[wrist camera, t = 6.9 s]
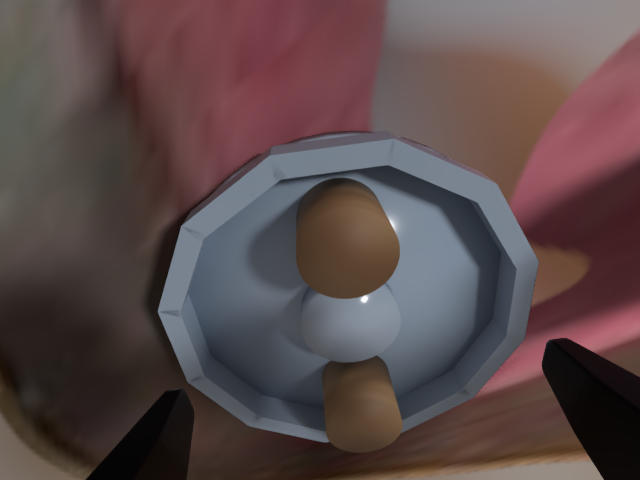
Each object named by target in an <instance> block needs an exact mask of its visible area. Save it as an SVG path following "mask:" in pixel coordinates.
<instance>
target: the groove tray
mask: <svg viewBox="0 0 640 480" xmlns="http://www.w3.org/2000/svg"><path fill="white" fill-rule="evenodd" d="M332 178H350V179H354V180H357V181H360V182H361V183H363V184H365V185H366V186H368V187H369V188H370V189H371V190H372V191H373V192H374V194H375V195H376V196H377V198H378V200H379V202H380V204H381V206H382V208H383V210H384V212H385V213H386V215H387V217H388V219H389V221H390V223H391V225H392V227H393V229H394V231H395V233H396V235H397V237H398V240H399V245H400V258H399V262H398V265H397V267H396V270H395V271H394V273H393V275H392V276H391V277H390V279H389V280H388V281H387V282H386V283H385V284H384V285H383V286H381V287H380V288H379V289H377V290H375V291H374V292H372V293H370V294H367V295H365V296H362V297H358V298H352V299H337V298H331V297H328V296H325V295H322V294H320V293H318V292H317V291H315V290H313V289H312V288H311V287H310V286H309V285H308V284H307V283H306V282H305V281H304V280H303V278H302V277H301V275H300V273H299V270H298V268H297V263H296V216H297V210H298V206H299V204H300V202H301V200H302V198H303V197H304V195H305V194H306V193H307V192H308V191H309V190H310V189H311V188H312V187H314V186H315V185H317V184H318V183H320V182H322V181H325V180H328V179H332ZM538 265H539V261H538V259H537V257H536V255H535V253H534V252H533V250H532V248H531V246H530V244H529V242H528V240H527V239H526V237H525V235H524V233H523V231H522V229H521V228H520V226H519V224H518V222H517V220H516V218H515V217H514V215H513V213H512V211H511V209H510V207H509V205H508V204H507V202H506V200H505V198H504V196H503V194H502V193H501V191H500V189H499V187H498V185H497V184H496V183H495V182H493V181H492V180H491V179H489V178H488V177H486V176H485V175H483V174H482V173H481V172H478V171H476V170H474V169H472V168H469V167H467V166H465V165H463V164H460V163H458V162H456V161H453V160H451V159H450V158H448V157H447V156H445V155H443V154H441V153H439V152H437V151H436V150H434V149H432V148H430V147H428V146H426V145H423V144H421V143H418V142H415V141H412V140H410V139H407V138H404V137H399V136H397V135H395V134H392V133H390V132H388V131H380V132H367V131H340V132H327V133H322V134H317V135H312V136H307V137H302V138H299V139H296V140H293V141H291V142H288V143H285V144H282V145H277V146H272V147H271V148H269V149H268V150H267V151H266V152H264V153H263V154H261V155H259V156H257V157H255V158H253V159H252V160H250V161H249V162H248V163H246V164H245V165H243V166H242V167H240V168H239V169H237V170H236V171H235V172H233V173H232V174H231V175H230V176H229V177H228V178H227V179H226V180H225V181H224V182H223V183H222V184H221V185H220V186H218V187H217V188H216V190H215V191H214V192H213V194H212V195H211V196H210V197H208V198H207V199H206V200H205V201H203V202H202V203H201V204H200V205H198V206H197V207H196V208H195V209H193V210H192V211H191V212H190V214H189V215H188V217H187V218H186V220H185V221H184V223H183V224H182V226H181V229H180V233H179V236H178V240H177V243H176V247H175V251H174V254H173V258H172V262H171V265H170V269H169V272H168V276H167V280H166V283H165V287H164V290H163V294H162V298H161V301H160V305H159V309H158V314H159V316H160V318H161V321H162V323H163V325H164V328H165V330H166V333H167V335H168V337H169V340H170V342H171V344H172V347H173V349H174V351H175V354H176V356H177V358H178V361H179V363H180V365H181V368H182V370H183V373H184V375H185V377H186V380H187V382H188V383H189V384H191V385H192V386H194V387H195V388H196V389H198V390H199V391H201V392H202V393H203V394H205V395H206V396H208V397H209V398H210V399H212V400H213V401H215V402H216V403H217V404H219V405H220V406H222V407H223V408H224V409H226V410H227V411H229V412H230V413H231V414H233V415H234V416H236V417H237V418H238V419H240V420H241V421H242V422H244V423H245V424H247V425H248V426H251V427H255V428H260V429H264V430H269V431H274V432H278V433H283V434H287V435H292V436H297V437H301V438H306V439H310V440H315V441H320V442H330V441H329V440H328V438H327V435H326V426H325V411H324V397H323V382H322V374H323V370H324V368H325V367H326V365H327V364H328V363H329V362H330V361H336V362H358V361H363V360H366V359H369V358H372V357H374V356H376V355H377V356H379V357H380V358H381V359H382V360H383V361H384V362H385V363H386V365H387V368H388V371H389V375H390V378H391V382H392V386H393V389H394V393H395V397H396V400H397V404H398V408H399V411H400V415H401V419H402V424H403V426H402V431H401V433H403V432H405V431H407V430H409V429H411V428H413V427H415V426H417V425H419V424H421V423H423V422H425V421H427V420H429V419H431V418H433V417H435V416H437V415H439V414H441V413H443V412H446V411H448V410H450V409H452V408H454V407H456V406H458V405H460V404H462V403H464V402H466V401H468V400H470V399H472V398H473V397H474V396H475V395H476V394H477V393H478V392H479V390H480V389H481V388H482V387H483V386H484V385H485V384H486V382H487V381H488V380H489V379H490V378H491V377H492V376H493V375H494V373H495V372H496V371H497V370H498V369H499V368H500V367H501V365H502V364H503V363H504V362H505V361H506V360H507V359H508V357H509V356H510V355H511V354H512V353H513V352H514V351H515V349H516V348H517V347H518V346H519V345H520V344H521V343H522V341H523V340H524V339H525V334H526V328H527V323H528V318H529V312H530V307H531V302H532V296H533V291H534V286H535V281H536V275H537V270H538Z"/></svg>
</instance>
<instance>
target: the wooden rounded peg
mask: <svg viewBox="0 0 640 480" xmlns="http://www.w3.org/2000/svg"><path fill="white" fill-rule="evenodd" d="M322 382H323V397H324V411H325V426H326V435H327V438H328V440H329V441H330V443H331V444H333V445H334V446H335V447H337V448H339V449H341V450H344V451H347V452H354V453H365V452H372V451H376V450H379V449H382V448H384V447H386V446H388V445H389V444H391V443H392V442H393V441H395V440H396V439H397V438H398V436H399V435H400V433H401V431H402V426H403V424H402V419H401V415H400V411H399V408H398V404H397V400H396V397H395V393H394V389H393V386H392V382H391V378H390V375H389V371H388V368H387V365H386V363H385V362H384V361H383V360H382V359H381V358H380V357H379V356H377V355H376V356H374V357H372V358H369V359H366V360H363V361H358V362H336V361H330V362H329V363H328V364H327V365H326V367H325V368H324V370H323V374H322Z"/></svg>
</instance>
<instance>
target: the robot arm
mask: <svg viewBox="0 0 640 480" xmlns="http://www.w3.org/2000/svg"><path fill="white" fill-rule="evenodd" d="M542 369H543V372H544V375H545V377H546V378H547V380H548V382H549V384H550V386H551V388H552V390H553V392H554V394H555V396H556V398H557V400H558V402H559V404H560V406H561V408H562V410H563V412H564V414H565V416H566V418H567V420H568V422H569V424H570V425H571V427H572V429H573V431H574V433H575V435H576V436H577V438H578V439H579V441H580V443H581V444H582V446H583V448H584V449H585V451H586V452H587V454H588V455H589V457H590V459H591V460H592V462H593V463H594V465H595V466H596V468H597V469H598V471H599V472H600V474H601V476H602V477H603V479H604V480H640V377H638V376H637V375H635V374H633V373H631V372H629V371H627V370H625V369H624V368H622V367H620V366H618V365H616V364H614V363H612V362H611V361H609V360H607V359H605V358H603V357H601V356H599V355H598V354H596V353H594V352H592V351H590V350H588V349H586V348H585V347H583V346H581V345H579V344H577V343H575V342H573V341H572V340H569V339H567V338H559V339H552V340H549V341H548V342H547V344H546V348H545V352H544V356H543V361H542ZM193 425H194V410H193V407H192V405H191V402H190V400H189V398H188V396H187V393H186V391H185V390H184V389H183V388H179V389H171V390H167V391H166V392H164V393H163V394H162V395H161V397H160V398H159V399H158V400H157V401H156V402H155V403H154V404H153V405H152V407H151V408H150V409H149V410H148V411H147V412H146V413H145V414H144V415H143V417H142V418H141V419H140V420H139V421H138V422H137V423H136V424H135V425H134V427H133V428H132V429H131V430H130V431H129V432H128V433H127V434H126V435H125V437H124V438H123V439H122V440H121V441H120V442H119V443H118V444H117V445H116V447H115V448H114V449H113V450H112V451H111V452H110V453H109V454H108V455H107V457H106V458H105V459H104V460H103V461H102V462H101V463H100V464H99V465H98V467H97V468H96V469H95V470H94V471H93V472H92V473H91V474H90V475H89V477H88V478H87V479H86V480H186V478H187V471H188V463H189V456H190V448H191V440H192V433H193Z"/></svg>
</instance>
